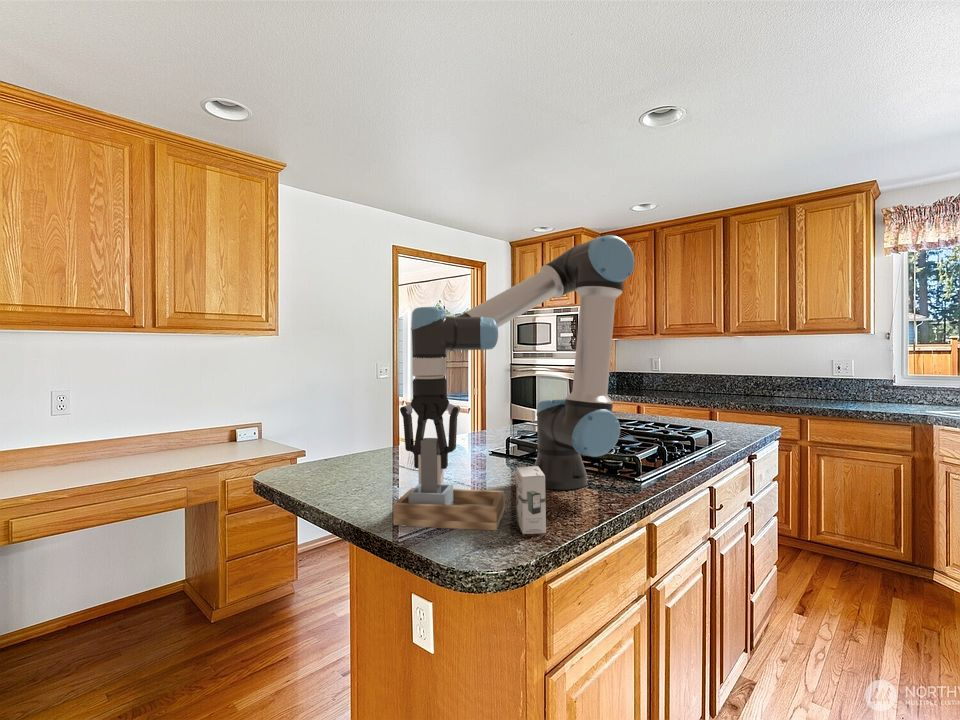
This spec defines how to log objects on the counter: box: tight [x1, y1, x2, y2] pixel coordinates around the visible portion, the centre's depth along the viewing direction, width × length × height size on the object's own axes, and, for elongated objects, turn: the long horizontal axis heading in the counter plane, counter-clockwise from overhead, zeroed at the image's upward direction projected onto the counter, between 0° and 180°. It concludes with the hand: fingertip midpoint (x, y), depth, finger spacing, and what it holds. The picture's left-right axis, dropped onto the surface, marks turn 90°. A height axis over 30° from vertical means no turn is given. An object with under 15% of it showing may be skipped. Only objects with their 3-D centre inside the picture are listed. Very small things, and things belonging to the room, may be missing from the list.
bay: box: [392, 487, 505, 531], centre depth 111 cm, size 22×13×4 cm, turn 80°
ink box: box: [515, 465, 547, 535], centre depth 104 cm, size 9×5×12 cm, turn 5°
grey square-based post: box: [408, 437, 454, 505], centre depth 111 cm, size 8×8×15 cm
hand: (431, 482), depth 111 cm, fingers closed on grey square-based post, 3 cm apart
